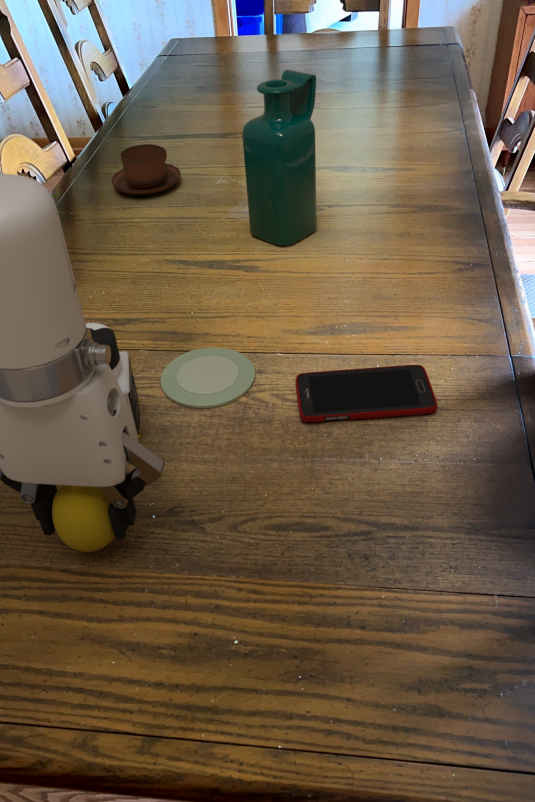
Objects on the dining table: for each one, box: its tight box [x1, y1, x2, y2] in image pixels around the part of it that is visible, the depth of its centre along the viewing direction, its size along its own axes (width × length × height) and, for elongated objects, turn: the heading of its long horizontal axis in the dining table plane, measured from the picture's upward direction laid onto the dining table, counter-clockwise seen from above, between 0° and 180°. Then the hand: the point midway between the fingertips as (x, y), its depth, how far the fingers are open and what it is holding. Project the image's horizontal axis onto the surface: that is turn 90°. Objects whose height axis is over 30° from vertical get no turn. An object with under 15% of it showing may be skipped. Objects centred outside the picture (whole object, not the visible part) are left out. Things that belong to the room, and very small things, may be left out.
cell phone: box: [295, 364, 438, 423], centre depth 78 cm, size 8×15×1 cm, turn 93°
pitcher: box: [241, 69, 317, 247], centre depth 103 cm, size 10×8×22 cm
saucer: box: [159, 346, 256, 409], centre depth 83 cm, size 11×11×1 cm
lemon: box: [52, 485, 115, 553], centre depth 61 cm, size 6×6×8 cm
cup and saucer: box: [111, 143, 181, 196], centre depth 124 cm, size 12×12×6 cm
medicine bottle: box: [85, 322, 142, 443], centre depth 74 cm, size 7×7×12 cm
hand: (88, 523), depth 62 cm, fingers closed on lemon, 5 cm apart
